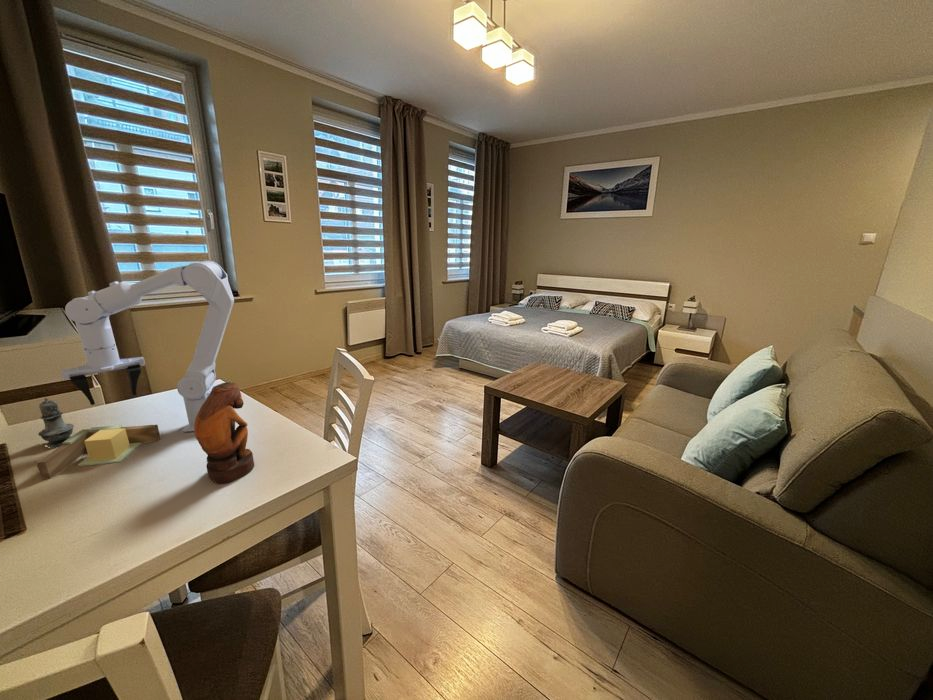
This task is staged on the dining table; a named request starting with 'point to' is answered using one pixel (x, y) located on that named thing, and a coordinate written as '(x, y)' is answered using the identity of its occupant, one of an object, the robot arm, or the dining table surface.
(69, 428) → the grey stone finial
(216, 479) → the figurine
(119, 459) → the sage pad
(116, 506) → the dining table surface
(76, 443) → the walnut walls
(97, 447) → the ochre block
